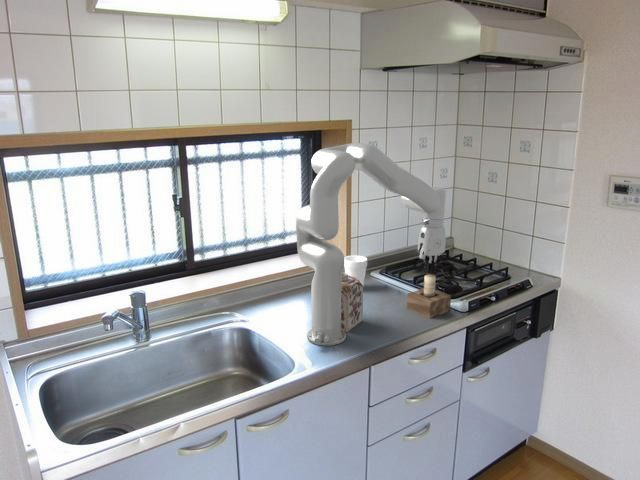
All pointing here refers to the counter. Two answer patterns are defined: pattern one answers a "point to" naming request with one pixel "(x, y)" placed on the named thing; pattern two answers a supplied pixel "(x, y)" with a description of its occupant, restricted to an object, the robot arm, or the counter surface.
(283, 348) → the counter surface
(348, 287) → the decorative jar
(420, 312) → the socket block
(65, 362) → the counter surface
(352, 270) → the foam cup
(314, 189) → the robot arm
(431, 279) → the beech dowel
